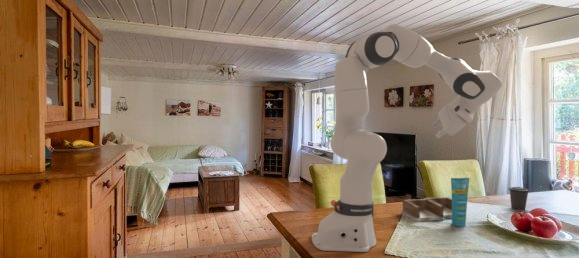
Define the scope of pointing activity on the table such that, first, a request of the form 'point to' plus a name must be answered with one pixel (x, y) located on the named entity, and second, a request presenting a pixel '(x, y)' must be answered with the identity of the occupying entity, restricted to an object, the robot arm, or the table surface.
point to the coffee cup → (518, 197)
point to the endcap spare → (444, 202)
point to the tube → (459, 200)
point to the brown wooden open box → (422, 210)
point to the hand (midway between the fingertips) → (435, 132)
